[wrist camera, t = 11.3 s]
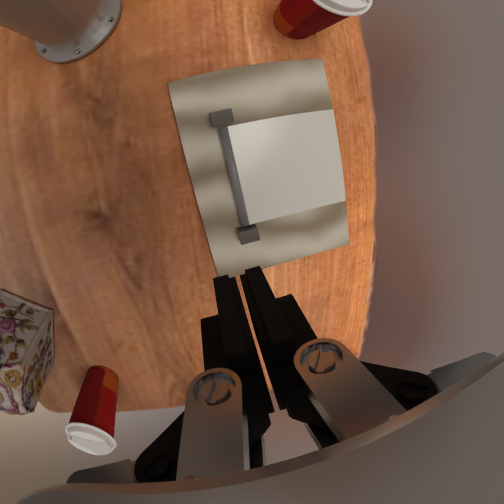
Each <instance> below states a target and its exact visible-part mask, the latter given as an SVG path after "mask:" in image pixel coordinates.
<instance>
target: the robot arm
mask: <svg viewBox="0 0 504 504" xmlns="http://www.w3.org/2000/svg"><path fill="white" fill-rule="evenodd" d="M121 10H122V2H121V0H0V25H1V26H3V27H6V28H8V29H10V30H13V31H15V32H17V33H19V34H22V35H24V36H26V37H28V38H30V39H32V40H34V44H35V48H36V50H37V52H38V53H39V54H40V56H41V57H43V58H44V59H46V60H48V61H51V62H55V63H68V62H72V61H76V60H78V59H80V58H83V57H85V56H86V55H88V54H90V53H91V52H93V51H94V50H95V49H97V48H98V47H99V46H100V45H101V44H102V43H103V42H104V41H105V40H106V39H107V38H108V37H109V36H110V34H111V33H112V32H113V30H114V28H115V27H116V25H117V23H118V21H119V18H120V15H121ZM111 21H113V22H111ZM79 52H80V54H79ZM240 278H241V282H242V286H243V290H244V293H245V297H246V301H247V305H248V308H249V312H250V316H251V320H252V323H253V327H254V331H255V334H256V338H257V341H258V344H259V347H260V350H261V354H262V357H263V360H264V363H265V366H266V369H267V372H268V375H269V378H270V381H271V384H272V387H273V390H274V393H275V397H276V400H277V403H278V405H279V408H280V410H282V409H287V412H288V415H289V417H291V418H292V419H295V420H298V421H301V422H304V425H305V427H306V429H307V431H308V432H309V434H310V435H311V437H312V439H313V440H314V442H315V443H316V445H317V446H318V448H319V450H317V451H314V452H311V453H308V454H305V455H302V456H299V457H296V458H292V459H289V460H285V461H282V462H278V463H274V464H270V465H266V455H265V442H264V437H263V434H264V433H265V432H266V430H267V429H268V428H269V426H270V425H271V423H270V422H271V421H270V418H269V413H272V412H275V411H274V408H273V404H272V401H271V397H270V394H269V391H268V387H267V384H266V380H265V377H264V374H263V370H262V367H261V363H260V360H259V356H258V353H257V349H256V346H255V343H254V339H253V336H252V333H251V329H250V326H249V323H248V319H247V316H246V313H245V309H244V306H243V302H242V299H241V296H240V292H239V289H238V285H237V282H236V278H235V277H231V278H229V276H228V274H227V275H223V276H220V277H216V278H213V282H214V288H215V295H216V302H217V308H218V315H215V316H211V317H207V318H203V319H201V333H202V346H203V357H204V369H205V371H204V372H202V373H200V374H199V375H198V376H196V377H195V378H194V379H193V380H192V382H191V383H190V384H189V387H188V390H187V396H186V403H185V410H184V412H183V413H182V414H181V415H180V416H179V417H178V418H177V419H176V420H175V421H174V422H173V423H172V424H171V425H170V426H169V427H168V428H167V429H166V430H165V431H164V432H163V433H162V434H161V435H160V436H159V437H158V438H157V439H156V440H155V441H154V442H153V443H152V444H151V445H150V446H149V447H147V449H145V450H144V451H143V452H142V453H141V455H140V456H139V457H138V459H137V460H135V461H131V460H130V459H127V460H123V461H119V462H115V463H111V464H106V465H102V466H97V467H93V468H88V469H83V470H79V471H76V472H74V473H73V474H72V475H70V476H69V478H68V480H67V482H66V484H57V485H52V486H47V487H44V488H40V489H37V490H34V491H32V492H30V493H28V494H26V495H24V496H23V497H22V498H21V499H20V500H19V501H18V503H17V504H504V352H503V353H501V354H500V355H498V356H495V355H493V354H491V353H486V352H483V353H478V354H475V355H473V356H470V357H468V358H465V359H462V360H460V361H457V362H454V363H451V364H448V365H445V366H443V367H439V368H436V369H433V370H431V372H430V374H428V375H425V374H422V373H419V372H413V371H408V370H402V369H397V368H391V367H386V366H381V365H376V364H371V363H366V362H362V361H359V360H358V359H357V358H356V357H355V356H354V355H353V354H352V353H351V352H350V351H349V349H348V348H347V347H346V346H345V345H343V344H342V343H341V342H339V341H337V340H334V339H328V338H320V339H318V338H317V337H316V335H315V333H314V332H313V330H312V328H311V326H310V325H309V323H308V321H307V319H306V318H305V316H304V314H303V312H302V311H301V309H300V307H299V306H298V304H297V302H296V300H295V299H294V297H293V296H292V294H289V295H286V296H283V297H279V298H276V299H275V297H274V294H273V292H272V290H271V288H270V286H269V284H268V282H267V280H266V278H265V276H264V274H263V272H262V269H261V267H260V266H256V267H252V268H249V269H245V274H242V275H240Z"/></svg>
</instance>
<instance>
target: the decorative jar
mask: <svg viewBox="0 0 504 504" xmlns="http://www.w3.org/2000/svg"><path fill="white" fill-rule="evenodd" d="M54 357H55V355H54V335H53V310H51V309H48V308H46V307H43V306H40V305H38V304H35V303H33V302H31V301H28V300H26V299H23V298H21V297H19V296H16V295H14V294H11V293H9V292H7V291H4V290H2V289H1V290H0V411H2V412H4V413H6V414H9V415H14V414H15V415H16V414H19V415H24V414H27V413H31V412H34V409H35V407H36V404H37V402H38V399H39V397H40V394H41V391H42V389H43V386H44V384H45V381H46V379H47V376H48V374H49V371H50V369H51V366H52V363H53V361H54Z"/></svg>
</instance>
